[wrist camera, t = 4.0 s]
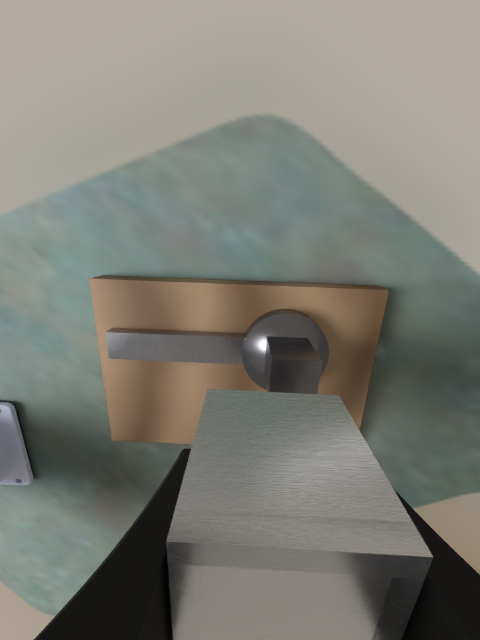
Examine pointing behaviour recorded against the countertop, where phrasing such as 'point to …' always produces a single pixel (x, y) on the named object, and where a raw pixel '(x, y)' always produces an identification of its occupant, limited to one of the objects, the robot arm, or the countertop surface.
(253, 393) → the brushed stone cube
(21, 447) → the robot arm
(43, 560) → the countertop surface
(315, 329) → the ratchet
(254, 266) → the countertop surface
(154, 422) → the board
